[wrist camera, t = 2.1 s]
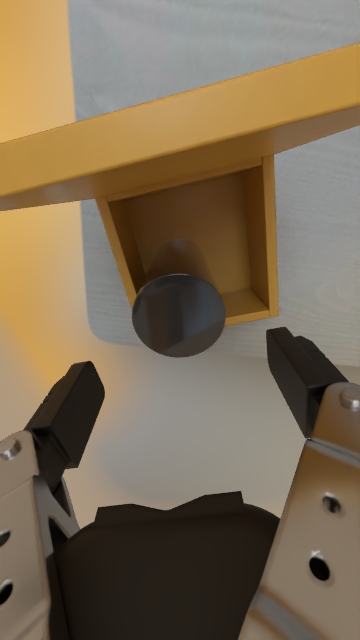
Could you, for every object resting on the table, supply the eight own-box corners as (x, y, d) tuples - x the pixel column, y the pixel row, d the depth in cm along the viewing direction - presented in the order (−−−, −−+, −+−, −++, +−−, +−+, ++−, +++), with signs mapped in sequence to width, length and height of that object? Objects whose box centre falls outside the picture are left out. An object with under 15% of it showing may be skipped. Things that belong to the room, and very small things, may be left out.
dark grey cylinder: (145, 246, 24) (118, 284, 14) (201, 234, 24) (219, 263, 13) (159, 298, 27) (146, 364, 16) (210, 288, 26) (231, 349, 16)
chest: (257, 290, 27) (279, 316, 21) (150, 310, 29) (142, 341, 23) (247, 161, 22) (274, 147, 16) (115, 194, 23) (92, 192, 17)
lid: (589, 46, 4) (621, -33, 3) (-111, 226, 5) (-145, 182, 5) (276, 153, 16) (276, 138, 15) (92, 198, 17) (88, 185, 16)
